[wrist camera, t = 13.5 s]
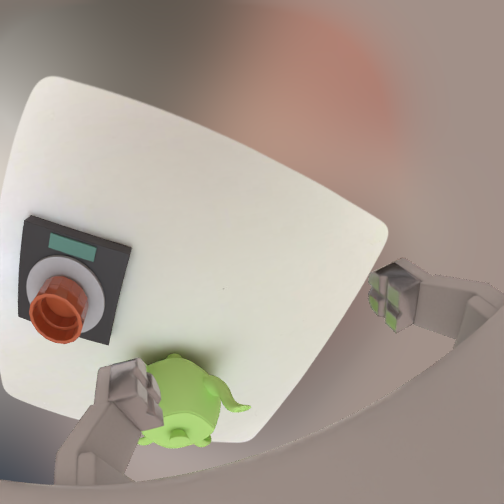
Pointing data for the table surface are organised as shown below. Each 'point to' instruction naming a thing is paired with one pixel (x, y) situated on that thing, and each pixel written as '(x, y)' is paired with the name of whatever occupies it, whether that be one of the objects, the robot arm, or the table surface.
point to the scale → (73, 271)
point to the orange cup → (59, 310)
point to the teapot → (187, 403)
